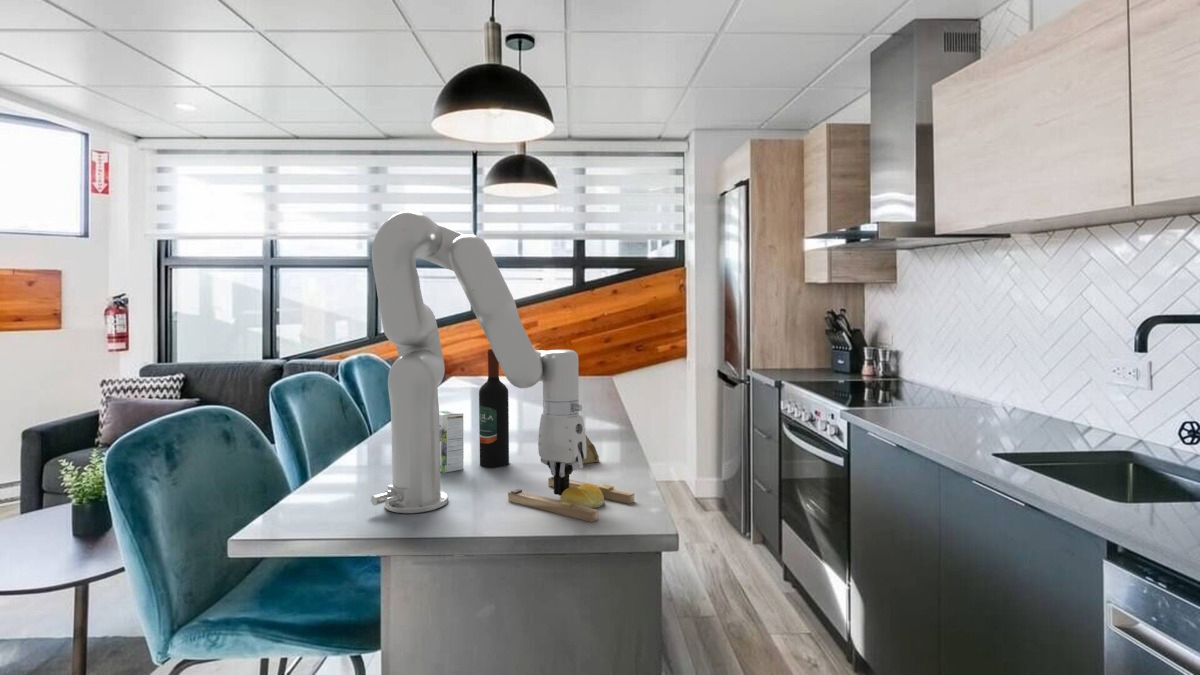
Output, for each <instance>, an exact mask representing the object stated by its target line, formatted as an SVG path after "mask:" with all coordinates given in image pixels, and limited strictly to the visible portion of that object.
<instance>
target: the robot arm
mask: <svg viewBox="0 0 1200 675" xmlns="http://www.w3.org/2000/svg"><path fill="white" fill-rule="evenodd" d="M417 258H419V259H421V260H425V261H427V262H429V263H432V264H434V265H437V266H439V267H442V268H444V269H446V270H450V271H452V272H454V274H455V276H456V278H457V280H458V282H459V284H460V285H461V288H462V290H463V292H464V294H465V296H466V298H467V300H468V302H469V305H470V306H471V308H472V311H473V312H474V315H475V317H476V319H477V322H478V323H479V325H480V327H481V329H482V330H483V333H484V335H485V337H486V338H487V341H488V343H489V346H490V349H492V350H493V352H494V354H495V356H496V358H497V360H498V362H499V366H500V368H501V371H502V372H503V374H504V376H505V378H506V380H507V381H508V382H509V383H510V385H512V386H514V387H516V388H518V389H530V388H532V387H534V386H535V385H537V384H538V382H542V399H543V400H542V401H543V402H542V408H543V409H542V410H543V412H542V413H541V416H540V420H539V421H540V422H539V427H538V439H537V440H538V444H537V445H538V449H537V450H538V457H540V463H541V464H544V465H546V466H547V467H548V468H549V470H550V474H551V475H552V477H553V476H554V487H553V494H554V495H558V496H560V497H561V494H562V493H563V491H564V490H566V489H567V488H569V479H570V475H572V472H574V471H577V470H581V469H583V467H584V464H583V463H582V460H585V459H586V455H587V450H586V436H587V434H586V428H585V423H584V419H583V418H584V417H583V415H582V414H579V412H581V411H583V404H580V403H579V402H580V401H579V394H580V393H579V390H580V389H579V386H580V385H579V355H578V352H576V351H575V350H572V349H549V350H542V349H541V350H539V349H535V348H534V346H533V344H532V342H531V339H530V338H529V336H528V333H527V332H526V330H525V329H526V328H524V325H523V323H522V320H521V319H520V318H521V317H520V315H519V313H518V308H517V304H516V302H515V299H514V297H513V294H512V293H511V291H510V289H509V287H508V285H507V283H506V281H505V278H504V276H503V275H502V273H501V271H500V268H499V267H498V264H497V262H496V260H495V259H494V256H493V254H492V252H491V249H490V247H489V246H488V244H487V242H486V241H485V240H484V239H483V238H481V237H480V236H478V235H476V234H471V233H468V234H464V233H461V232H459V231H456V230H455V229H452V228H449V227H447V226H444V225H442V224H439V223H437V222H435V221H433V220H432V219H431V218H430V217H429V216H428V215H425V214H424V213H423V212H420V211H417V210H405V211H400V212H398V213H396V214H393V215H392V216H391V217H389V219H387V220H386V221H385V222H384V223H383V224H382V225H381V226H380V227H379V228H378V231H377V233H376V235H375V237H374V239H373V243H372V248H371V264H372V269H373V276H374V280H375V287H376V293H377V294H376V296H377V299H378V306H379V311H380V317H381V324H382V330H383V333H384V335H385V337H386V338H387V340H388V341H390V342H391V343H392V344H394V345H395V348H396V352H397V357H398V358H397V359H396V360H395V361H394V362H393V363H392V365H391V367H390V368H389V371H388V377H387V388H388V398H389V405H390V429H391V430H390V432H391V464H392V466H391V470H392V471H391V472H392V476H391V477H392V484H389V485H387V490H385V492H384V493H378V494H374V495H372V496H371V497H370V503H371V504H372V506H377V505H381V504H384V507H385V509H386V510H387V511H390V512H393V513H398V514H419V513H425V512H431V511H435V510H436V509H437V510H438V509H440V508H441V507H444V506H445V505H447V504H448V502H449V495H448V493H446V492H444V491H443V490H441V471H440V428H439V411H440V406H439V395H438V394H439V390H438V388H439V385H441V383H442V381H443V379H444V376H445V368H446V367H445V360H444V355H443V350H442V349H443V348H442V345H441V339H440V334H439V329H438V328H439V327H438V323H437V320H436V315H435V314H434V312H433V310H432V309H431V308H430V307H429V305H427V304H426V303H425V302H424V300H423V295H422V290H421V283H420V282H421V281H420V277H419V273H418V269H417V263H416V260H417ZM585 434H586V435H585Z"/></svg>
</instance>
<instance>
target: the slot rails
mask: <svg viewBox="0 0 1200 675" xmlns="http://www.w3.org/2000/svg"><path fill="white" fill-rule="evenodd" d="M547 481H548V482H547V483H548V485H549V486H548V485H547V486H548V487H551V486H553V487H552V488H554V476H553V475H552V476H550V477H548V480H547ZM583 484H590V483H589V482H585V481H584V482H583V481H579V480H574V479H570V478H569V488H570V487H576V488H578V487H579V486H581V485H583ZM591 484H592V485H595V486H597V487H598V488H599V489H600V490H601V491H602V493H603V496H604V499H605V498H606V500H609V499H610V500H611V501H615V502H619V503H623V504H628V505H631V504H632V503H634V502H635V492H633V491H632V492H631V491H626V490H621V489H617V488H615V487H614V485H610V484H605V483H604V484H602V485H597V484H593V483H591ZM507 494H508V495H507V497H508V498H507V499H508V500H507V501H508V502H513V503H515V504H519V505H524V506H527V507H531V508H534V509H540V510H542V511H548V512H551V513H555V514H558V515H563V516H567V517H571V518H574V519H579V520H582V521H586V522H589V523H593V522H596V521H598V520H599V509H596V508H588V507H584V506H579V505H577V502H573V501H569V500H566V501H564V502H563V501H560V499H553V498H551V497H546V496H542V495H537V494H535V493H534V494H533V493H528V492H525V491H523V489H520V488H516V489H513V490H510V491H509V492H508V493H507ZM610 500H609V501H610Z"/></svg>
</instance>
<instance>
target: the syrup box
mask: <svg viewBox="0 0 1200 675" xmlns="http://www.w3.org/2000/svg"><path fill="white" fill-rule="evenodd" d="M439 428H440V473H443V474H445V473H449V472H455V471H460V470H464V467H465V466H464V464H465V462H464V453H465V452H464V413H463V412H459V411H455V410H439Z"/></svg>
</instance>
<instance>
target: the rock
mask: <svg viewBox="0 0 1200 675" xmlns="http://www.w3.org/2000/svg"><path fill="white" fill-rule="evenodd" d="M585 435H586V450H587V455H586V459H585V460H582V463H583V465H584V464H590V463H596V462H600V458H599V457H600V456H599V454H598V452H597V448H596V447H595V445H594V443H593V442H592V441H591V440H590V439H589V437H588V436H587V434H586V433H585Z"/></svg>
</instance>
